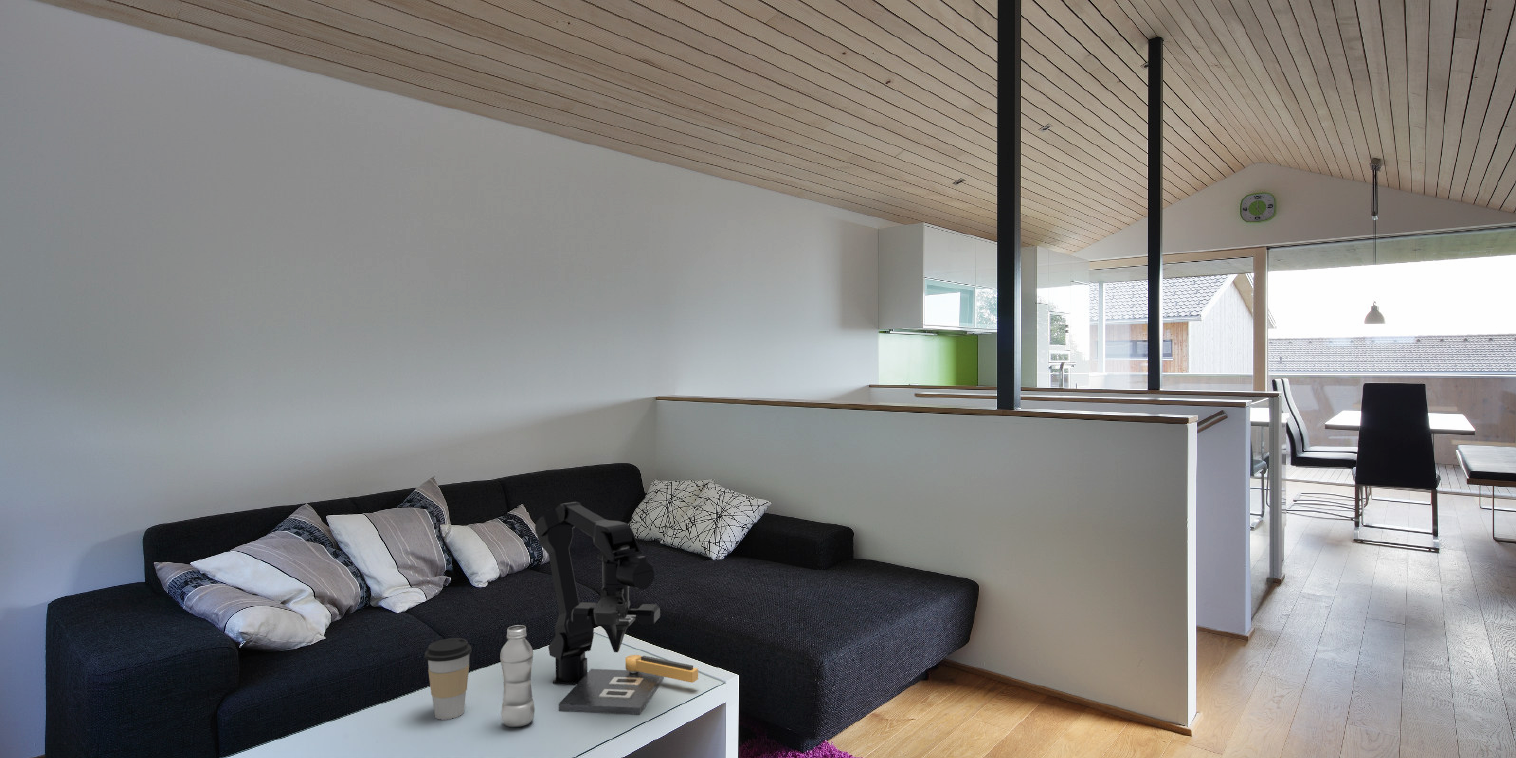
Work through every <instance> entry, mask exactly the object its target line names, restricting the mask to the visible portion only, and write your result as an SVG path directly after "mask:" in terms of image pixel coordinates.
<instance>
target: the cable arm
mask: <svg viewBox="0 0 1516 758" xmlns="http://www.w3.org/2000/svg"><path fill="white" fill-rule="evenodd" d="M624 658H625V661H624V662H625V670H628V671H639V672H644V673H649V674H653V675H658V676H663V677H664V678H669V679H673V680H678V681H681V682H686V683H691V684H692V683H695V682H697V681H698V680H699V668H696V667H694V665H692V664H687V663H682V662H678V661H677V662H676V661H672V660H667V659H663V658H658V657H653V656H647V655H639V654H631V655H627V656H626V657H624Z"/></svg>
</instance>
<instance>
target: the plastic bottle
mask: <svg viewBox="0 0 1516 758" xmlns="http://www.w3.org/2000/svg"><path fill="white" fill-rule="evenodd" d="M506 632H507V633H506V639H507V641H506V642H505V644H504V645H503V646H502V648H501V651H500V655H499V656H500V664H501V670H502V679H503V698H502V704H501V711H500V715H501V721H502V722H503V724H504V726H507V727H509V728H515V727H516V728H518V727H523V726H526V725H529V724H530V723H531V722H532V721H533V719H534V717H535V711H536V709H535V708H536V707H535V702H534V699H533V691H532V690H533V689H532V666H533V657H534V649H533V647H532V646H531V644H530V642H529V641H528V640H527V639H526V637H527V627H526V625H524V624H522V625H521V624H520V625H519V624H517V625H512V626H509V627H508V628H507V630H506Z"/></svg>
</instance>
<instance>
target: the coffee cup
mask: <svg viewBox="0 0 1516 758" xmlns="http://www.w3.org/2000/svg"><path fill="white" fill-rule="evenodd" d="M472 651H473V650H472V646H471V645H470V644H469V642H468V640H467V639H466V638H462V637H449V638H443V639H440V640H436V641H433V642H431V643H430V644H429V645H428V648H427V650H425V653H424V656H423V657H424V659H425V660H427V663H428V670H427V671H428V678H429V687H430V694H431V696H432V703H433V712H434V717H435V719H438V720H440V719H441V721H445V720H447V719H448V720H452V718H453V719H455V718H458V716H459V717H460V715H461V716H463V714H464V713H465V707H466V706H465V705H466V697H467V691H468V684H469V683H468V682H469V672H470V669H469V668H470V654H471V653H472Z"/></svg>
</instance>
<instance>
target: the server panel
mask: <svg viewBox="0 0 1516 758" xmlns="http://www.w3.org/2000/svg"><path fill="white" fill-rule="evenodd" d="M587 672H588V673H587V674H586V675H585V676H584V677H583V678H582V679H581V680H580V681H579V683H578V684H575V686H574V687H573V688H572V689H571V690H570V691H569V692H568V693H567V695H565V696H564V698H563V699H562V700H561V701H560V702H559V703H558V711H559V712H574V713H576V712H577V713H599V714H616V715H617V714H618V715H634V716H635V715H638V716H640V715H641V713H642V712H643V711H644V709H645V708H646V706H647V705H646V704H648V703H649V702H650V700H651V699H652V697H653V696H654V694H655V692H656V691H657V689H658V688H659V686H660V685H661V684H662V681H663V680H664V678H665V677H663V676H658V675H653V674H649V673H644V672H639V671H628V670H626V669H604V668H590V669H589V670H588V671H587ZM644 707H645V708H644Z"/></svg>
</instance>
